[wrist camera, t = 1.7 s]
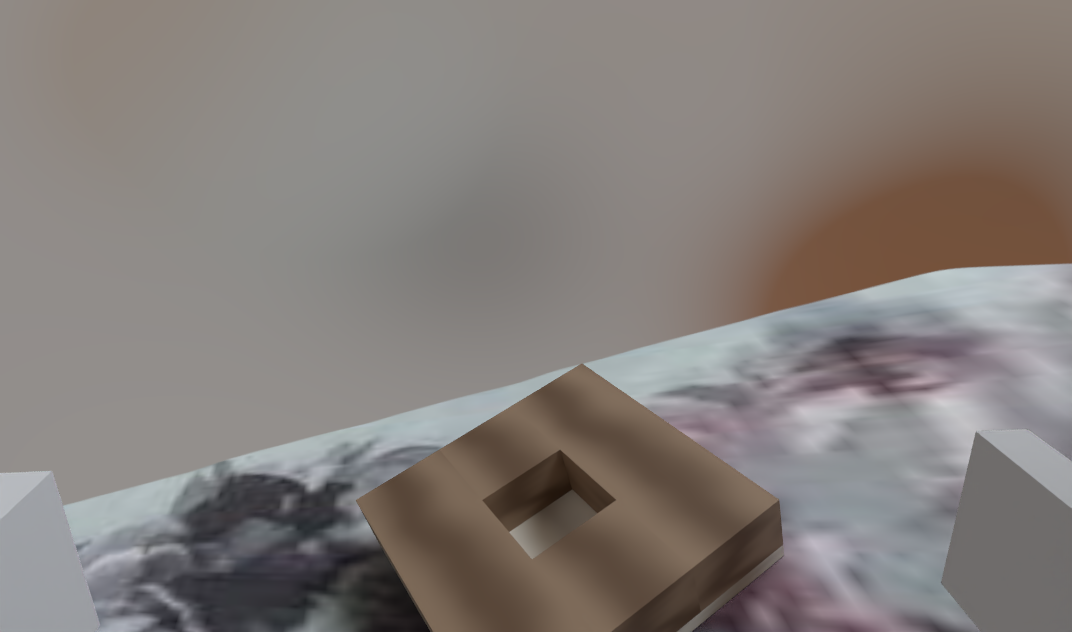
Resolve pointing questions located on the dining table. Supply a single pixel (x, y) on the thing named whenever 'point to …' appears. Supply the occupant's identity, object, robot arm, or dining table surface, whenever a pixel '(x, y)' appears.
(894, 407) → the dining table surface
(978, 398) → the dining table surface
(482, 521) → the socket block
